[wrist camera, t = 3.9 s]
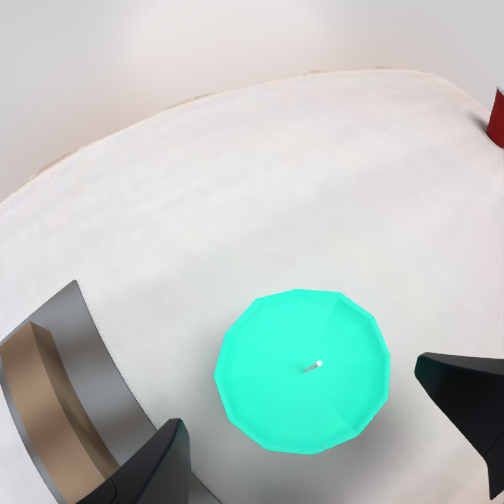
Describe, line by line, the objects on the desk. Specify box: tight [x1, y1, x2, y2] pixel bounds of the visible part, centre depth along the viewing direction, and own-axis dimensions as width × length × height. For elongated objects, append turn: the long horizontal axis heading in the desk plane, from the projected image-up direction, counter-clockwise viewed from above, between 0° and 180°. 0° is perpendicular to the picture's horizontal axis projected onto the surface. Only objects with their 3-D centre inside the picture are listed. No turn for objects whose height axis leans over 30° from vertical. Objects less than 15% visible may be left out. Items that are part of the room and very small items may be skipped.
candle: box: [214, 289, 390, 455], centre depth 12 cm, size 6×6×12 cm
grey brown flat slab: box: [0, 280, 222, 504], centre depth 12 cm, size 24×14×3 cm, turn 39°
